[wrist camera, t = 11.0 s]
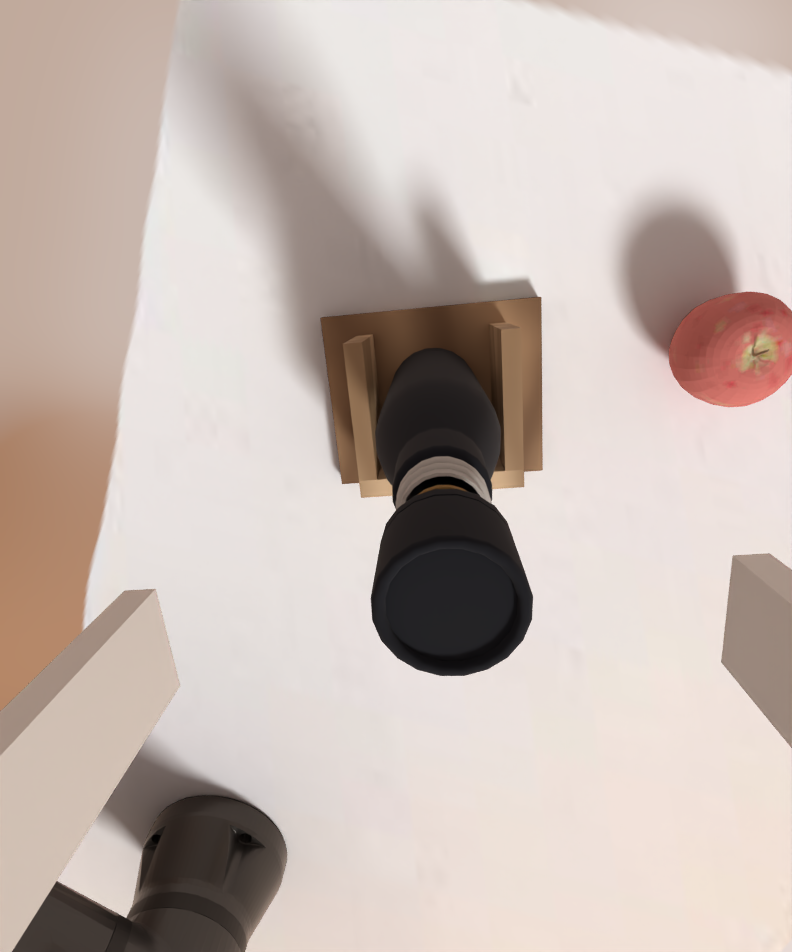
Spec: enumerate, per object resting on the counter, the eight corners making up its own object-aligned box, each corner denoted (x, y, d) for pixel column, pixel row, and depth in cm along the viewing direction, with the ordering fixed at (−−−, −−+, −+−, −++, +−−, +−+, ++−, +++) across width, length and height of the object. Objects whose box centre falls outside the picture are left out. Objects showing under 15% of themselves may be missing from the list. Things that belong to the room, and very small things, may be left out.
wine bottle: (413, 332, 40) (382, 435, 11) (491, 369, 40) (645, 555, 12) (378, 410, 42) (278, 662, 13) (452, 444, 42) (507, 755, 14)
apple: (656, 295, 39) (710, 295, 32) (762, 289, 39) (843, 288, 31) (647, 397, 42) (695, 419, 34) (747, 392, 41) (819, 414, 33)
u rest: (344, 479, 45) (326, 517, 37) (323, 317, 41) (298, 322, 33) (539, 465, 44) (563, 502, 36) (537, 297, 40) (564, 297, 32)
